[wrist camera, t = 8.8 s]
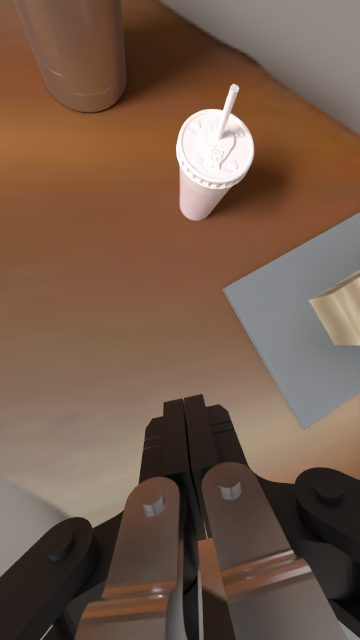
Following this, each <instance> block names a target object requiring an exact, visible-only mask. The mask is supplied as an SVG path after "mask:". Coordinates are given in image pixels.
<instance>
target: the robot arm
mask: <svg viewBox="0 0 360 640" xmlns="http://www.w3.org/2000/svg"><path fill="white" fill-rule="evenodd" d="M13 2H14V5H15V7H16V10H17V13H18V15H19V18H20V20H21V23H22V25H23V28H24V30H25V33H26V36H27V38H28V41H29V43H30V46H31V49H32V51H33V54H34V56H35V59H36V61H37V64H38V66H39V69H40V71H41V74H42V77H43V79H44V82H45V84H46V87H47V88H48V90H49V92H50V93H51V94H52V96H53V97H54V98H55V99H56V100H57V101H59V102H60V103H61V104H63V105H64V106H66V107H68V108H70V109H73V110H76V111H80V112H97V111H101V110H104V109H107V108H109V107H110V106H112V105H114V104H115V103H116V102H117V101H118V100H119V99H120V97H121V96H122V94H123V92H124V90H125V87H126V79H127V76H126V63H125V50H124V35H123V22H122V9H121V0H13ZM184 403H185V405H184ZM143 449H144V450H143V454H142V462H141V470H140V478H139V485H138V486H136V487H135V488H134V489H133V491H132V492H131V493H130V495H129V497H128V498H127V501H126V504H125V508H124V510H123V511H122V512H121V513H119V514H118V515H117V516H115V517H113V518H111V519H110V520H108V521H106V522H104V523H102V524H100V525H98V526H96V527H94V528H92V526H91V524H90V522H89V521H88V520H86V519H84V518H81V517H74V518H69V519H66V520H64V521H62V522H60V523H58V524H57V525H55V526H54V527H52V528H51V529H50V530H49V531H48V532H46V533H45V534H44V535H43V536H42V537H41V538H40V539H39V540H38V541H37V542H36V543H35V544H34V545H33V546H32V547H31V548H30V549H29V550H28V551H27V552H26V553H25V554H24V555H23V556H22V557H21V558H20V559H19V560H18V561H16V562H15V563H14V564H13V565H12V566H11V567H10V568H9V569H8V570H7V571H6V572H5V573H4V574H3V575H2V576H1V577H0V640H40V639H41V638H42V636H43V635H44V634H45V633H46V631H47V630H48V629H49V627H50V626H51V625H52V624H53V627H52V628H51V629H50V631H49V632H48V633H47V634H46V636H45V637H44V638H43V639H42V640H203V616H202V589H201V572H200V568H199V550H198V541H199V540H204V539H206V535H205V527H204V522H205V526H206V531H207V535H208V538H213V541H214V545H215V549H216V554H217V558H218V562H219V567H220V571H221V575H222V580H223V584H224V589H225V593H226V597H227V602H228V606H229V610H230V615H231V619H232V623H233V628H234V632H235V636H236V640H348V639H347V637H346V635H345V633H344V631H343V629H342V627H341V625H340V623H339V621H340V622H341V623H342V624H344V625H345V626H346V627H347V628H348V629H350V630H351V631H352V632H353V633H354V634H355V635H357V636H358V637H359V638H360V480H357V479H355V478H353V477H351V476H348V475H346V474H344V473H342V472H339V471H337V470H334V469H330V468H321V467H318V468H311V469H308V470H306V471H304V472H302V473H301V474H300V475H299V476H298V477H297V479H296V481H295V484H289V483H278V482H272V481H268V480H266V479H263V478H261V477H259V476H258V475H257V474H255V473H254V472H253V471H252V470H251V469H250V467H249V466H248V464H247V461H246V459H245V456H244V453H243V451H242V448H241V445H240V443H239V440H238V437H237V435H236V432H235V430H234V427H233V424H232V422H231V419H230V416H229V413H228V411H227V410H226V409H224V408H223V407H222V406H221V405H219V404H218V405H214V406H209V407H205V403H204V399H203V394H200V395H195V396H191V397H186V398H184V401H183V398H182V399H177V400H172V401H168V402H164V410H163V416H162V417H158V418H153V419H152V420H151V422H150V423H149V425H148V426H147V428H146V431H145V441H144V446H143ZM203 518H204V520H203ZM338 620H339V621H338Z"/></svg>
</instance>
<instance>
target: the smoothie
mask: <svg viewBox="0 0 360 640" xmlns="http://www.w3.org/2000/svg"><path fill="white" fill-rule="evenodd" d="M238 90H239V87H238V86H237V85H236V84H233V85H231V87H230V90H229V94H228V97H227V100H226V103H225V106H224V109H223V110H218V109H207V110H202V111H199V112H197V113H195V114H193V115H192V116H190V117H189V118H188V119H187V120H186V121H185V122H184V124H183V125H182V127H181V130H180V133H179V137H178V141H177V145H176V151H177V158H178V161H179V164H180V208H181V211H182V213H183V214H184V215H185V216H186V217H187V218H189V219H191V220H195V221H199V220H203V219H205V218H206V217H207V216H208V215H209V214H210V213H211V211H212V210H213V209H214V208H215V206H216V205H217V204H218V203H219V201H220V200H221V199H222V198H223V196H224V195H225V194H226V193H227V192H228V190H229V189H230V188H231V187H232V186H233V185H235V184H237V183H238V182H240V181H241V179H242V178H243V177H244V176H245V175H246V173H247V171H248V169H249V167H250V165H251V163H252V160H253V156H254V143H253V139H252V136H251V134H250V132H249V130H248V128H247V127H246V126H245V124H244V123H243V122H242V121H241V120H240V119H238V118H237V117H236V116H234V115H233V114H231V110H232V107H233V104H234V102H235V99H236V96H237V93H238Z"/></svg>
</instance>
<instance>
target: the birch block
mask: <svg viewBox="0 0 360 640" xmlns="http://www.w3.org/2000/svg"><path fill="white" fill-rule="evenodd" d="M309 301H310V303H311V305H312V306H313V308H314V310H315V312H316V313H317V315H318V317H319V319H320V320H321V322H322V324H323V326H324V327H325V329H326V331H327V332H328V334H329V336H330V338H331V339H332V341H333V343H334V345H357V346H360V270H358V271H356V272H355V273H353V274H351V275H350V276H348V277H346V278H345V279H343V280H341V281H340V282H338V283H336V284H335V285H333V286H331V287H330V288H328V289H326V290H325V291H323V292H321V293H320V294H318V295H316V296H315V297H313V298H311V299H310V300H309Z"/></svg>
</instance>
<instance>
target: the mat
mask: <svg viewBox="0 0 360 640" xmlns="http://www.w3.org/2000/svg"><path fill="white" fill-rule="evenodd" d="M358 270H360V213H358V214H356V215H354V216H352V217H351V218H349V219H347V220H345V221H343V222H342V223H340V224H338V225H336V226H335V227H333V228H331V229H329V230H327V231H326V232H324V233H322V234H320V235H318V236H317V237H315V238H313V239H311V240H309V241H308V242H306V243H304V244H302V245H301V246H299V247H297V248H295V249H293V250H292V251H290V252H288V253H286V254H284V255H283V256H281V257H279V258H277V259H276V260H274V261H272V262H270V263H268V264H267V265H265V266H263V267H261V268H259V269H258V270H256V271H254V272H252V273H250V274H249V275H247V276H245V277H243V278H242V279H240V280H238V281H236V282H234V283H233V284H231V285H229V286H227V287H225V288H224V289H222V290H223V292H224V293H225V295H226V297H227V299H228V300H229V302H230V304H231V306H232V307H233V309H234V311H235V313H236V314H237V316H238V318H239V320H240V321H241V323H242V325H243V327H244V328H245V330H246V332H247V334H248V335H249V337H250V339H251V341H252V342H253V344H254V346H255V348H256V349H257V351H258V353H259V355H260V357H261V358H262V360H263V362H264V364H265V365H266V367H267V369H268V371H269V372H270V374H271V376H272V378H273V379H274V381H275V383H276V385H277V386H278V388H279V390H280V392H281V393H282V395H283V397H284V399H285V400H286V402H287V404H288V406H289V407H290V409H291V411H292V413H293V414H294V416H295V418H296V420H297V421H298V423H299V425H300V427H301V428H302V429H304V430H305V429H307V428H308V427H310V426H311V425H312V424H314V423H315V422H317V421H318V420H320V419H321V418H323V417H324V416H326V415H327V414H329V413H330V412H331V411H333V410H334V409H336V408H337V407H339V406H340V405H342V404H343V403H345V402H346V401H348V400H349V399H350V398H352V397H353V396H355V395H356V394H358V393H359V392H360V346H357V345H334V343H333V341H332V339H331V338H330V336H329V334H328V332H327V331H326V329H325V327H324V326H323V324H322V322H321V320H320V319H319V317H318V315H317V313H316V312H315V310H314V308H313V306H312V305H311V303H310V301H309V300H310V299H311V298H313V297H315V296H316V295H318V294H320V293H321V292H323V291H325V290H326V289H328V288H330V287H331V286H333V285H335V284H336V283H338V282H340V281H341V280H343V279H345V278H346V277H348V276H350V275H351V274H353V273H355V272H356V271H358Z"/></svg>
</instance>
